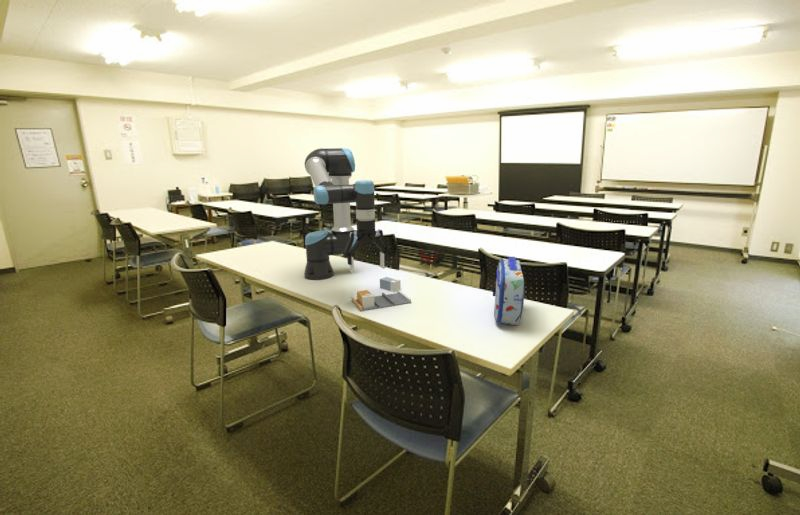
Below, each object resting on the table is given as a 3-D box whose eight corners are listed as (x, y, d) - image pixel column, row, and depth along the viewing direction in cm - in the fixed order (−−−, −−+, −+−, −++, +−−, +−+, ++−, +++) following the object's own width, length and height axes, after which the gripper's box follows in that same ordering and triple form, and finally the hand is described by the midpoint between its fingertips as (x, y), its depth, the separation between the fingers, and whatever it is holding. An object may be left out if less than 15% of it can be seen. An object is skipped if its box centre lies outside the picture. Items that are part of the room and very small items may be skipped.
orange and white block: (357, 301, 165) (356, 289, 164) (367, 299, 167) (367, 288, 166) (363, 308, 157) (363, 296, 156) (374, 306, 159) (374, 294, 158)
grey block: (379, 288, 183) (379, 277, 182) (386, 285, 187) (386, 275, 185) (393, 292, 177) (393, 281, 176) (400, 289, 181) (400, 278, 179)
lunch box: (492, 302, 163) (494, 251, 158) (517, 303, 161) (520, 252, 156) (494, 329, 137) (497, 270, 132) (524, 331, 135) (528, 271, 130)
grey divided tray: (351, 301, 167) (351, 297, 166) (399, 293, 175) (399, 290, 175) (360, 311, 155) (360, 307, 155) (411, 302, 164) (411, 299, 163)
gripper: (338, 223, 148) (341, 276, 153) (397, 218, 159) (398, 267, 164) (333, 220, 154) (336, 271, 160) (389, 215, 165) (390, 263, 170)
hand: (367, 269), depth 162 cm, fingers open, 13 cm apart
